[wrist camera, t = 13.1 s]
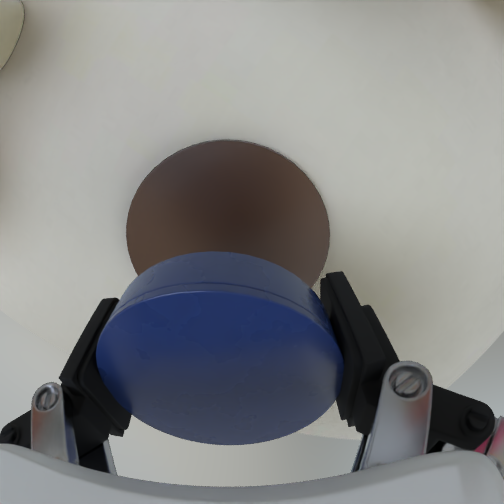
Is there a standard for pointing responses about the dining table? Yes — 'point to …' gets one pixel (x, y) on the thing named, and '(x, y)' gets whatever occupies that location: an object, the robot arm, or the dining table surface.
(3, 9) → the jar
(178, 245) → the coaster
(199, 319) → the lid
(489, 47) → the dining table surface
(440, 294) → the dining table surface
